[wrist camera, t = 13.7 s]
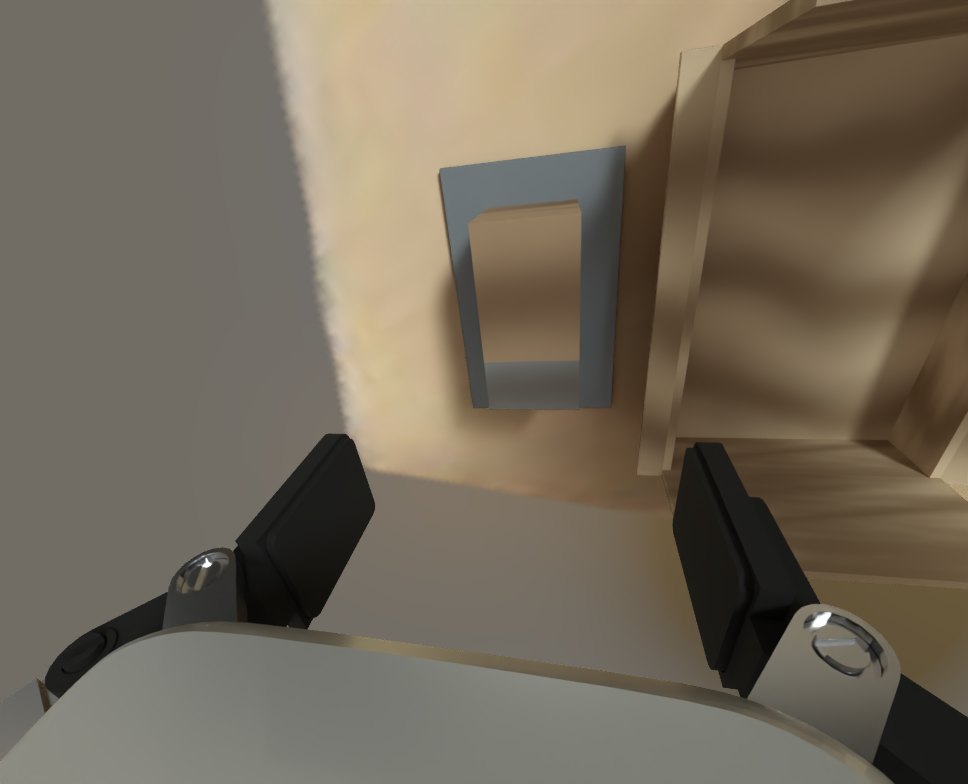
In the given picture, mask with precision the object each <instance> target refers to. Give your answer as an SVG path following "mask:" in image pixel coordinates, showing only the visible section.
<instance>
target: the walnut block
mask: <svg viewBox="0 0 968 784" xmlns="http://www.w3.org/2000/svg"><path fill="white" fill-rule="evenodd" d="M468 229H469V237H470V246H471V254H472V263H473V272H474V280H475V289H476V297H477V306H478V315H479V323H480V332H481V340H482V349H483V358H484V366H485V375H486V383H487V392H488V401H489V409H577V410H579V353H580V278H581V210H580V207H579V203H578V200H577V199H573V200H563V201H553V202H542V203H532V204H522V205H512V206H501V207H491V208H488V209H486V210H485V211H484V212H482V213H481V214H480V215H478V216H477V217H476V218H474V219H473V220H472V221H470V222H469V223H468Z"/></svg>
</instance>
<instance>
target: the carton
mask: <svg viewBox="0 0 968 784" xmlns="http://www.w3.org/2000/svg"><path fill="white" fill-rule="evenodd" d="M696 442H719V443H722V445H723V446H724V448H725V450H726V452H727V454H728V456H729V458H730V460H731V462H732V464H733V466H734V468H735V470H736V472H737V474H738V476H739V478H740V480H741V482H742V484H743V486H744V488H745V489H746V491H747V493H748V495H749V497H760V498H761V499H762V500H764V502H765V503H766V505H767V506H768V508H769V510H770V512H771V514H772V515H773V517H774V519H775V521H776V523H777V525H778V527H779V528H780V530H781V532H782V534H783V536H784V538H785V539H786V541H787V543H788V545H789V547H790V549H791V550H792V552H793V554H794V556H795V558H796V560H797V561H798V563H799V565H800V567H801V569H802V571H803V572H804V574H805V576H806V578H814V579H827V580H841V581H855V582H869V583H881V584H882V583H883V584H895V585H896V584H897V585H909V586H923V587H937V588H950V589H964V590H968V502H967V501H966V500H965V499H964V498H963V497H961V496H960V495H959V494H958V493H957V492H956V491H954V490H953V489H952V488H951V487H950V486H949V485H968V0H790V1H788V2H787V3H785V4H784V5H782V6H781V7H779V8H778V9H776V10H775V11H773V12H772V13H770V14H769V15H767V16H766V17H764V18H763V19H761V20H760V21H758V22H757V23H755V24H754V25H752V26H751V27H749V28H748V29H746V30H745V31H743V32H742V33H740V34H739V35H737V36H736V37H734V38H733V39H731V40H730V41H728V42H727V43H725V44H724V45H718V46H712V47H705V48H699V49H693V50H687V51H682V52H681V53H680V61H679V71H678V80H677V90H676V100H675V109H674V119H673V128H672V138H671V148H670V157H669V167H668V177H667V186H666V196H665V205H664V215H663V225H662V234H661V244H660V253H659V263H658V273H657V282H656V292H655V302H654V311H653V321H652V330H651V340H650V350H649V359H648V369H647V378H646V388H645V398H644V407H643V417H642V427H641V436H640V446H639V455H638V465H637V475H645V476H662V479H663V482H664V486H665V489H666V492H667V496H668V499H669V502H670V506H671V509H672V512H673V516H674V511H675V506H676V500H677V494H678V489H679V483H680V478H681V472H682V467H683V461H684V456H685V451H686V448H688V447H689V448H693V446H694V444H695V443H696Z"/></svg>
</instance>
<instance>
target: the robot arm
mask: <svg viewBox="0 0 968 784" xmlns="http://www.w3.org/2000/svg"><path fill="white" fill-rule="evenodd" d="M374 510H375V502H374V499H373V496H372V493H371V490H370V487H369V484H368V481H367V478H366V475H365V472H364V469H363V466H362V463H361V460H360V457H359V455H358V452H357V449H356V446H355V443H354V441H353V440H352V439H350V438H349V436H348V435H346V434H326V435H325V436H324V437H323V438H322V439H321V440H320V441H319V442H318V444H317V445H316V446H315V447H314V448H313V450H312V451H311V452H310V453H309V454H308V456H307V457H306V458H305V459H304V460H303V461H302V463H301V464H300V465H299V466H298V467H297V469H296V470H295V471H294V472H293V473H292V474H291V476H290V477H289V478H288V479H287V480H286V482H285V483H284V484H283V485H282V486H281V488H280V489H279V490H278V491H277V492H276V493H275V495H274V496H273V497H272V498H271V499H270V501H269V502H268V503H267V504H266V505H265V506H264V508H263V509H262V510H261V511H260V512H259V513H258V515H257V516H256V517H255V518H254V519H253V521H252V522H251V523H250V524H249V525H248V526H247V528H246V529H245V530H244V531H243V532H242V534H241V535H240V536H239V537H238V539H237V540H236V543H237V544H238V546H237V547H236V548H235V550H234V551H232V550H231V549H229V548H224V547H221V548H213V549H210V550H207V551H204V552H202V553H200V554H198V555H197V556H195V557H193V558H192V559H190V560H189V561H188V562H186V563H185V564H184V565H183V566H182V567H181V568H180V569H179V570H178V571H177V572H176V573H175V575H174V576H173V578H172V579H171V582H170V585H169V587H168V592H166V593H165V594H162V595H161V596H159V597H156V598H154V599H152V600H151V601H149V602H147V603H145V604H143V605H141V606H139V607H137V608H135V609H133V610H131V611H129V612H127V613H125V614H123V615H121V616H119V617H117V618H115V619H113V620H111V621H109V622H107V623H105V624H103V625H101V626H99V627H97V628H95V629H93V630H91V631H89V632H88V633H86V634H84V635H83V636H81V637H79V638H78V639H77V640H75V641H74V642H73V643H72V644H71V645H69V646H68V647H67V648H66V649H65V650H64V651H63V652H62V653H61V654H60V655H59V656H58V657H57V658H56V660H55V661H54V662H53V664H52V665H51V666H50V668H49V670H48V673H47V675H46V677H45V679H44V680H43V681H40V680H39V679H38V678H35V679H34V680H32V681H31V682H29V683H28V684H26V685H25V686H23V687H22V688H21V689H19V690H18V691H16V692H15V693H13V694H12V695H10V696H9V697H7V698H6V699H4V700H3V701H2V702H0V784H968V717H966V716H965V715H963V714H962V713H960V712H959V711H957V710H956V709H954V708H953V707H951V706H949V705H948V704H947V703H945V702H944V701H942V700H941V699H939V698H937V697H936V696H934V695H933V694H931V693H930V692H928V691H927V690H925V689H924V688H922V687H921V686H919V685H918V684H916V683H915V682H913V681H912V680H910V679H909V678H907V677H906V676H904V675H902V674H901V673H900V672H901V671H900V670H901V666H900V663H899V661H898V658H897V655H896V653H895V651H894V650H893V649H892V647H891V646H890V644H889V643H888V642H887V640H886V639H885V638H884V637H883V636H882V635H881V634H880V633H879V632H878V631H877V630H875V629H874V628H873V627H872V626H871V625H869V624H868V623H866V622H865V621H864V620H862V619H860V618H859V617H858V616H856V615H854V614H852V613H849V612H847V611H845V610H843V609H841V608H837V607H833V606H830V605H826V604H820V602H819V600H818V598H817V596H816V594H815V593H814V591H813V589H812V587H811V585H810V584H809V582H808V580H807V578H806V576H805V574H804V572H803V571H802V569H801V567H800V565H799V563H798V561H797V560H796V558H795V556H794V554H793V552H792V550H791V549H790V547H789V545H788V543H787V541H786V539H785V538H784V536H783V534H782V532H781V530H780V528H779V527H778V525H777V523H776V521H775V519H774V517H773V515H772V514H771V512H770V510H769V508H768V506H767V505H766V503H765V502H764V500H762V499H761V498H760V497H749V495H748V493H747V491H746V489H745V488H744V486H743V484H742V482H741V480H740V478H739V476H738V474H737V472H736V470H735V468H734V466H733V464H732V462H731V460H730V458H729V456H728V454H727V452H726V450H725V448H724V446H723V445H722V443H719V442H696V443H695V444H694V446H693V448H689V447H688V448H686V451H685V456H684V461H683V467H682V472H681V478H680V483H679V489H678V494H677V500H676V506H675V511H674V517H673V533H674V537H675V541H676V545H677V549H678V553H679V556H680V560H681V564H682V568H683V571H684V575H685V579H686V583H687V586H688V590H689V594H690V598H691V602H692V605H693V609H694V613H695V617H696V621H697V624H698V628H699V632H700V636H701V640H702V643H703V647H704V651H705V655H706V658H707V662H708V665H709V667H710V668H711V670H718V672H719V675H720V679H721V682H722V686H723V688H731V689H738V691H739V694H740V697H738V696H734V695H731V694H727V693H724V692H720V691H716V690H711V689H706V688H701V687H697V686H692V685H687V684H682V683H677V682H670V681H664V680H658V679H652V678H646V677H640V676H633V675H627V674H621V673H615V672H608V671H602V670H595V669H588V668H581V667H574V666H567V665H560V664H553V663H546V662H539V661H533V660H526V659H519V658H512V657H505V656H497V655H490V654H483V653H476V652H469V651H462V650H454V649H447V648H440V647H432V646H426V645H418V644H411V643H404V642H397V641H389V640H382V639H375V638H366V637H359V636H352V635H344V634H337V633H329V632H322V631H321V632H320V631H314V630H307V629H308V627H309V625H310V623H311V621H312V620H313V618H315V617H317V616H318V615H319V614H320V613H321V611H322V609H323V607H324V605H325V604H326V602H327V600H328V598H329V596H330V594H331V592H332V591H333V589H334V587H335V585H336V583H337V581H338V579H339V577H340V576H341V574H342V572H343V570H344V568H345V566H346V564H347V562H348V561H349V559H350V557H351V555H352V553H353V551H354V549H355V547H356V546H357V543H358V542H359V540H360V538H361V536H362V534H363V532H364V530H365V529H366V527H367V525H368V523H369V521H370V519H371V517H372V516H373V513H374ZM287 625H288V626H289V627H287ZM290 627H291V628H290Z"/></svg>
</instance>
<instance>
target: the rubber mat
mask: <svg viewBox="0 0 968 784" xmlns="http://www.w3.org/2000/svg"><path fill="white" fill-rule="evenodd" d="M624 164H625V146H619V147H611V148H603V149H595V150H587V151H578V152H570V153H562V154H554V155H546V156H538V157H530V158H522V159H514V160H505V161H497V162H489V163H481V164H473V165H465V166H457V167H449V168H441V169H440V176H441V183H442V190H443V197H444V204H445V211H446V218H447V225H448V232H449V240H450V247H451V254H452V261H453V268H454V275H455V282H456V289H457V296H458V303H459V310H460V317H461V324H462V331H463V338H464V345H465V352H466V359H467V366H468V373H469V380H470V387H471V394H472V401H473V408H489V401H488V392H487V383H486V375H485V366H484V358H483V349H482V340H481V332H480V323H479V315H478V306H477V297H476V289H475V280H474V272H473V263H472V254H471V246H470V237H469V229H468V223H469V222H470V221H472V220H473V219H474V218H476V217H477V216H478V215H480V214H481V213H482V212H484V211H485V210H486V209H488V208H491V207H501V206H512V205H522V204H532V203H542V202H553V201H563V200H573V199H577V200H578V203H579V207H580V210H581V278H580V353H579V408H611V394H612V376H613V358H614V341H615V323H616V305H617V288H618V270H619V252H620V235H621V217H622V199H623V182H624Z"/></svg>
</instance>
